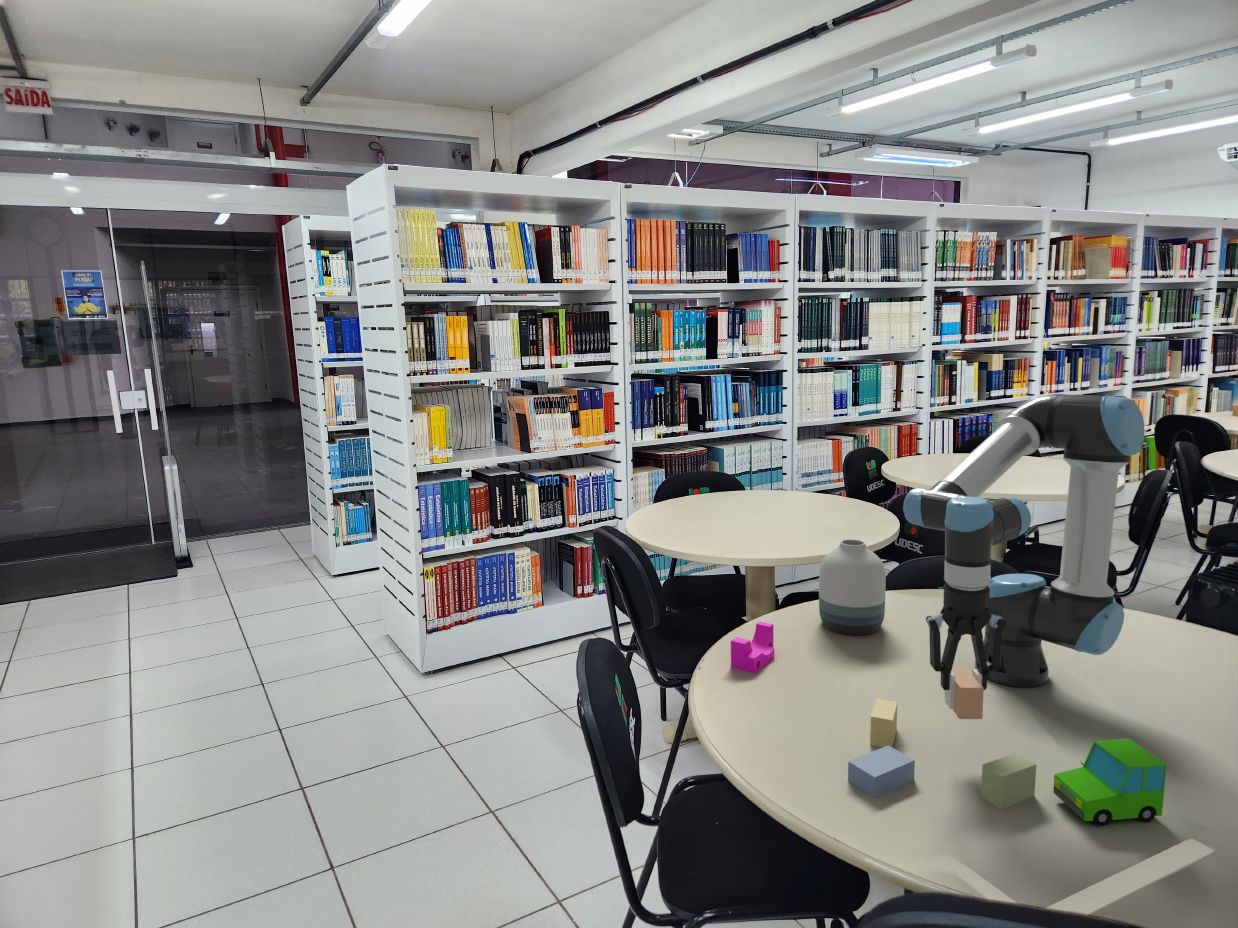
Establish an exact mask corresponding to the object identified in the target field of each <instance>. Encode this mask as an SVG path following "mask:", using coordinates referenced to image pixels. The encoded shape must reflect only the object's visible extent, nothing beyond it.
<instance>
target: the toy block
mask: <svg viewBox="0 0 1238 928" xmlns="http://www.w3.org/2000/svg"><path fill="white" fill-rule="evenodd" d="M774 658H775V647H774V623H770V622H764V621H758V622H757V623H755V630H754V634H753V637H752V639H746V638H742V637H738V636H735V637H734V638H732V639H730V667H731V668H735V669H739V670H740V671H741V670H742V671H744V672H748V673H751V674H756V673H757V672H758V671H760V668H761V669H762V668H763V667H764V665H765V664H766V665H767V664H769V663H770V662H771V661H772V660H773V659H774ZM771 659H772V660H771ZM770 660H771V661H770ZM769 661H770V662H769ZM766 665H765V666H766Z"/></svg>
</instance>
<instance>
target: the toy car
mask: <svg viewBox="0 0 1238 928" xmlns="http://www.w3.org/2000/svg"><path fill="white" fill-rule="evenodd" d="M1085 758H1086V759H1085V761H1084V763H1083V762H1082V760H1080V764H1081V765H1082V766H1081V767H1078V768H1077V767H1076V768H1074V769H1070V770H1066V771H1061V772H1057V773H1054V775H1053V794H1054V795H1055V796H1057V798H1059V800H1060V801H1062V802H1063V803H1064V804H1065V805H1067V806H1068V807H1069V808H1070V809H1071V811H1073V812H1074V813H1075V814H1076V815H1077V816H1078V817H1080V818H1081V819H1082V821H1084V822H1092V823H1094V825H1096V826H1097V827H1105V826H1108V825H1109V823H1110V822H1111V820H1112V821H1113V820H1114V821H1115V820H1127V819H1128V820H1130V819H1137V820H1138V821H1139V822H1140V823H1150V822H1152V821H1153V820H1154V819H1155V817H1161V816H1163V808H1164V798H1165V790H1166V789H1165V788H1166V787H1165V786H1166V777H1167V764H1166V763H1165V762H1163V761H1162V760H1161V759H1159V758H1158V757H1156V756H1155V755H1153V754H1152V753H1151V752H1150V751H1149V752H1148V751H1147V750H1146V749H1145V748H1143V747H1142V746H1140V745H1139V744H1137V743H1136V742H1134V741H1133V740H1132V739H1130V738H1117V739H1116V738H1115V739H1103V740H1102V739H1101V740H1094V741H1093V743H1092V745H1091V748H1090V750H1089V752H1088V754H1087V757H1085Z"/></svg>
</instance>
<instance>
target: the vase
mask: <svg viewBox="0 0 1238 928" xmlns="http://www.w3.org/2000/svg"><path fill="white" fill-rule="evenodd" d="M819 566H820V567H819V572H818V573H819V575H818V577H819V578H818V581H819V582H818V590H819V591H818V610H819V611H818V613H819V617H820V619H821V622H822V624H823V625H824V626H825V627H826V628H827V629H829V630H830V631H832V632H835V633H838V634H841V635H846V636H847V635H848V636H865V635H870V634H873V633H874V632H875V633H876V632H877V631H878V630H880V628H881V627H882V624H883V622H884V620H885V613H886V612H885V611H886V610H885V609H886V587H887V586H886V584H887V583H886V582H887V581H886V580H887V577H886V576H887V575H886V568H885V565H884V563H883V561H882V559H881V558H880V557H879V555H877V554H876V553H874V552H873V551H872V550H870V549H869V548H868V547H867V545H866V542H865V541H864V540H860V539H853V538H852V539H851V538H849V539H842V540H840V542H839V545H838V546H837V547H836V548H834V549H832V550H831V551H829V552H828V553H826V555H824V557H823V559H822V561H821V563H820V565H819Z"/></svg>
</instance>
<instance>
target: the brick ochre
mask: <svg viewBox="0 0 1238 928" xmlns="http://www.w3.org/2000/svg"><path fill="white" fill-rule="evenodd" d="M897 724H898V701H895V700H894V701H893V700H888V699H882V698H875V701H874V705H873V709H872V711H871V715H870V735H869V736H870V738H869V744H870V746H873V747H878V748H883V747H885V746H890V747H892V748H894V747H893V746H894V742H895V739H896V733H897V727H898V725H897Z"/></svg>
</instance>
